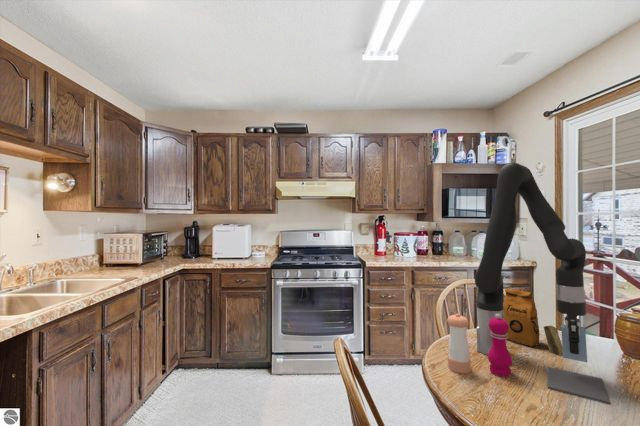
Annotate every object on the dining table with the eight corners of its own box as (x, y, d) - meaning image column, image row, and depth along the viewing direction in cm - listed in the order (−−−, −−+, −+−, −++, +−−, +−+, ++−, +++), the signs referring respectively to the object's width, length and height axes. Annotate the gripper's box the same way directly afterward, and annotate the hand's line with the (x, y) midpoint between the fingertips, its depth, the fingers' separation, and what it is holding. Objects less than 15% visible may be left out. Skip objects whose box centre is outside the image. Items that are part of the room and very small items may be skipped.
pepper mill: (509, 369, 105) (507, 311, 106) (515, 379, 98) (513, 317, 99) (486, 366, 108) (484, 310, 108) (490, 375, 101) (488, 315, 102)
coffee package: (531, 349, 121) (529, 294, 122) (500, 339, 132) (498, 289, 133) (544, 344, 126) (542, 291, 127) (513, 335, 137) (511, 286, 138)
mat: (547, 388, 93) (547, 386, 93) (547, 368, 105) (547, 366, 105) (609, 404, 84) (609, 402, 84) (602, 380, 97) (602, 378, 97)
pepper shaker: (470, 365, 108) (468, 312, 109) (471, 375, 102) (469, 317, 102) (448, 362, 111) (446, 310, 112) (447, 370, 105) (446, 315, 105)
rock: (549, 336, 128) (532, 336, 125) (563, 324, 124) (545, 323, 121) (571, 361, 119) (552, 361, 117) (586, 348, 115) (568, 348, 112)
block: (563, 357, 99) (561, 327, 100) (562, 353, 102) (561, 323, 103) (587, 362, 96) (585, 330, 96) (586, 357, 99) (584, 327, 99)
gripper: (555, 293, 108) (558, 341, 107) (557, 301, 96) (560, 356, 96) (583, 295, 103) (586, 346, 103) (588, 305, 92) (591, 362, 91)
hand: (573, 350), depth 99 cm, fingers closed on block, 4 cm apart
